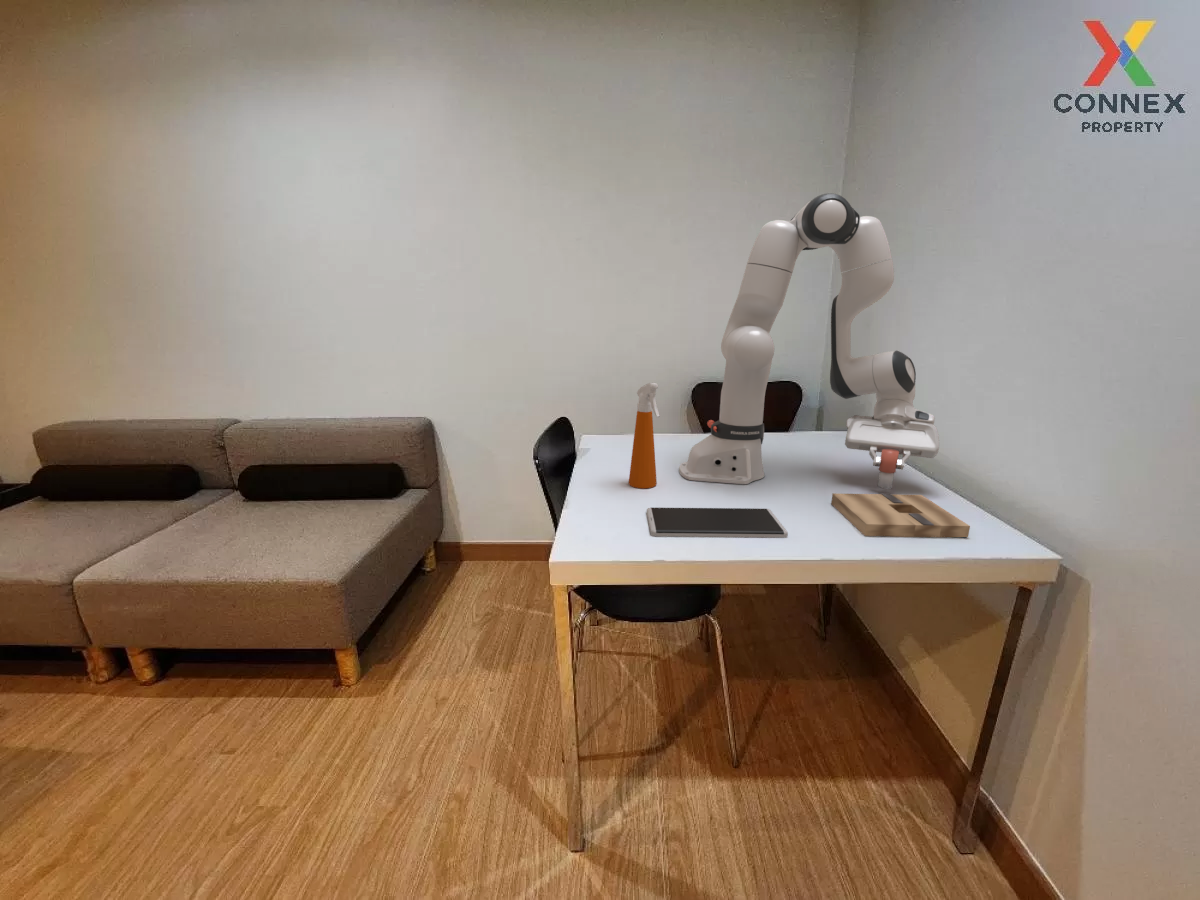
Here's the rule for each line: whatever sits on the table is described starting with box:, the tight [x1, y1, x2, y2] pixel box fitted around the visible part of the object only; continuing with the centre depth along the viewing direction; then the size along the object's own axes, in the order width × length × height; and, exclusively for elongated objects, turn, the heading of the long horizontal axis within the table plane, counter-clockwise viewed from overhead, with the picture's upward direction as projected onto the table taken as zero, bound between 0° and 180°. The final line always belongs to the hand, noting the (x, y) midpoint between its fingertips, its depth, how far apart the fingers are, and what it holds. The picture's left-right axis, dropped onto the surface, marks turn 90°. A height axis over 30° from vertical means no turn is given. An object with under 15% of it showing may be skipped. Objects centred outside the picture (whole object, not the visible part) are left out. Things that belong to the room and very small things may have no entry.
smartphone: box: [646, 507, 789, 539], centre depth 115 cm, size 13×27×2 cm, turn 89°
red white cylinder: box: [877, 449, 900, 490], centre depth 132 cm, size 4×4×9 cm
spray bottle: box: [628, 382, 660, 490], centre depth 134 cm, size 7×11×26 cm, turn 22°
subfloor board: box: [830, 492, 971, 538], centre depth 117 cm, size 20×18×3 cm
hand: (888, 466), depth 132 cm, fingers closed on red white cylinder, 4 cm apart
